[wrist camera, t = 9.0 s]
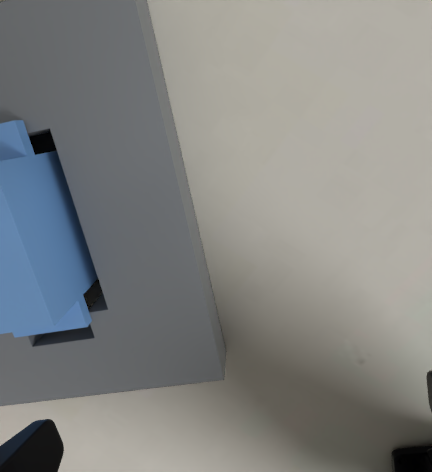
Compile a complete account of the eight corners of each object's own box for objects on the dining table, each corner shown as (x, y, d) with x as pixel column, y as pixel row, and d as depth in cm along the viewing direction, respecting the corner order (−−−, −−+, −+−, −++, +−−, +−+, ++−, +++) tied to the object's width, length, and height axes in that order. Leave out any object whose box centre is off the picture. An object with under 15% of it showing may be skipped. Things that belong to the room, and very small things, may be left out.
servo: (110, 297, 21) (56, 367, 15) (46, 306, 22) (-29, 378, 16) (53, 119, 18) (-40, 121, 12) (-19, 136, 19) (-140, 145, 13)
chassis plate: (226, 352, 22) (224, 379, 19) (-16, 383, 24) (-44, 411, 21) (143, -13, 16) (127, -34, 14) (-162, 70, 18) (-219, 63, 16)
